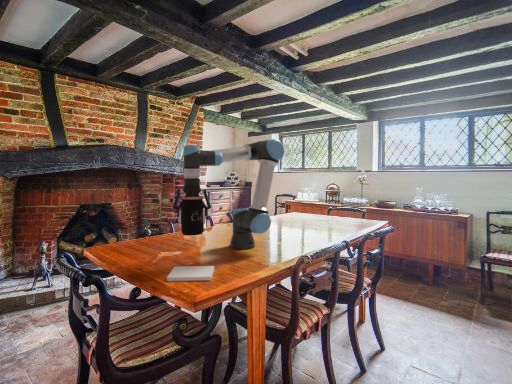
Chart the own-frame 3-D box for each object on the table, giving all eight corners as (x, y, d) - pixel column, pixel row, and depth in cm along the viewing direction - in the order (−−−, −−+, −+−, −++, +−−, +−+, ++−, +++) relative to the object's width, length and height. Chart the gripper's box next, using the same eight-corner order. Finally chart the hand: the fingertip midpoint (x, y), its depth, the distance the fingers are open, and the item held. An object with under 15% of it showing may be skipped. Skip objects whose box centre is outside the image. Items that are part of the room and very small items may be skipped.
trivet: (214, 269, 134) (214, 265, 134) (210, 280, 120) (210, 276, 120) (174, 269, 133) (174, 266, 133) (166, 281, 119) (166, 277, 119)
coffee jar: (192, 236, 134) (192, 197, 132) (176, 234, 139) (176, 196, 138) (208, 232, 143) (208, 196, 141) (192, 230, 148) (192, 195, 147)
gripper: (165, 178, 135) (166, 224, 136) (215, 177, 136) (215, 224, 137) (169, 177, 142) (170, 222, 144) (216, 177, 143) (217, 221, 145)
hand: (192, 223), depth 141 cm, fingers closed on coffee jar, 11 cm apart
